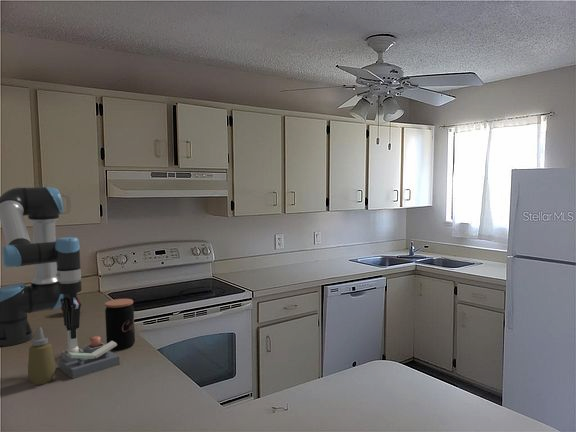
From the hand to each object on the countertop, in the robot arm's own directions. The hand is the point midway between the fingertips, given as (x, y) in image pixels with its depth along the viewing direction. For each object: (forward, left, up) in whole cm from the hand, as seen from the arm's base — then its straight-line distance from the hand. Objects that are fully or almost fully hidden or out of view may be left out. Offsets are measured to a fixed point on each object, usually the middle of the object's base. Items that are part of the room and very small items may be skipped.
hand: (72, 346), depth 156 cm
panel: (+3, +4, -7) cm, 9 cm away
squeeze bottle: (+5, -12, -8) cm, 15 cm away
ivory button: (0, 0, -4) cm, 4 cm away
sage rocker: (+7, 0, -2) cm, 7 cm away
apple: (-73, +25, -8) cm, 77 cm away
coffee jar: (-8, +21, -8) cm, 24 cm away
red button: (0, +8, -2) cm, 8 cm away
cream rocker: (+7, +9, -2) cm, 11 cm away
